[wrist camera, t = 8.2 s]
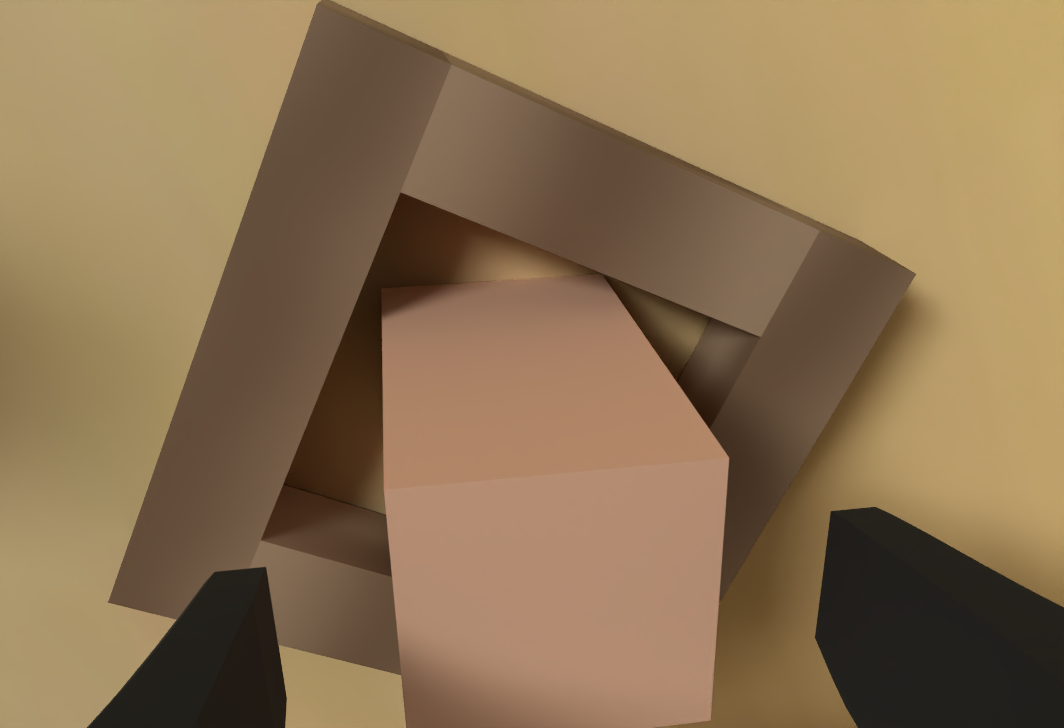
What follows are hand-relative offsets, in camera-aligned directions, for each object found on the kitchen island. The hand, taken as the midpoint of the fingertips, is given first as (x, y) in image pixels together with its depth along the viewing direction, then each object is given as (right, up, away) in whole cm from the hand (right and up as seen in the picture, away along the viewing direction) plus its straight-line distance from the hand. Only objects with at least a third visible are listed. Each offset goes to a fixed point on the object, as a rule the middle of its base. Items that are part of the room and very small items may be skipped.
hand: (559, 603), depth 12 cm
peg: (-1, +3, +6) cm, 7 cm away
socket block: (-1, +3, +6) cm, 7 cm away
